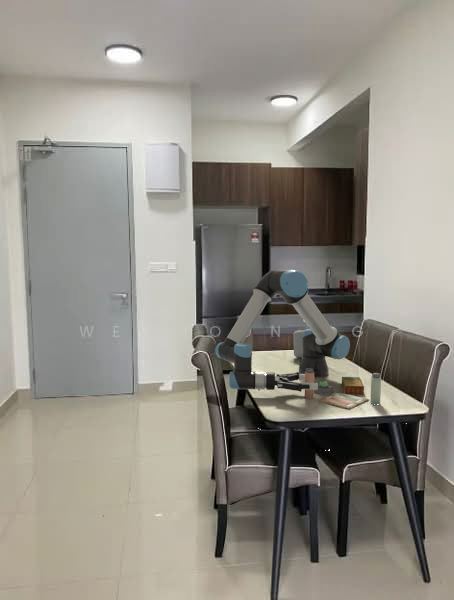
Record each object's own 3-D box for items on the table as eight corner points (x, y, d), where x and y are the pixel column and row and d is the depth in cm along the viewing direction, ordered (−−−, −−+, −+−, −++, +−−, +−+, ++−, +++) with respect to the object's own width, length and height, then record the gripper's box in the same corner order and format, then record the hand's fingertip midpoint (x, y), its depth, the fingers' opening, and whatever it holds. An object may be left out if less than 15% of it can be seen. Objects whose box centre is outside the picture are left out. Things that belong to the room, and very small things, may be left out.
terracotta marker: (307, 395, 198) (308, 367, 197) (315, 397, 195) (315, 368, 194) (302, 397, 195) (303, 369, 194) (310, 399, 193) (310, 370, 192)
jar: (290, 355, 280) (290, 314, 277) (314, 354, 281) (314, 314, 278) (296, 362, 261) (297, 318, 259) (322, 361, 262) (322, 318, 259)
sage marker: (373, 401, 190) (374, 372, 189) (381, 403, 187) (382, 373, 186) (368, 403, 187) (369, 373, 186) (377, 405, 184) (378, 375, 183)
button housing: (321, 389, 207) (321, 384, 207) (332, 392, 203) (333, 386, 203) (313, 392, 203) (313, 386, 203) (325, 394, 199) (325, 389, 199)
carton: (344, 394, 200) (344, 385, 200) (341, 384, 216) (341, 375, 216) (364, 395, 199) (364, 386, 199) (359, 385, 215) (359, 376, 214)
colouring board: (338, 393, 201) (338, 391, 201) (368, 400, 191) (368, 398, 191) (318, 401, 190) (318, 399, 190) (348, 409, 180) (348, 407, 180)
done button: (322, 385, 205) (322, 380, 205) (328, 386, 203) (328, 382, 203) (318, 386, 203) (318, 382, 203) (324, 388, 201) (324, 383, 200)
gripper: (265, 381, 209) (312, 382, 207) (265, 398, 184) (319, 399, 182) (265, 365, 208) (312, 366, 206) (265, 380, 183) (319, 381, 182)
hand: (316, 381), depth 194 cm, fingers open, 13 cm apart
